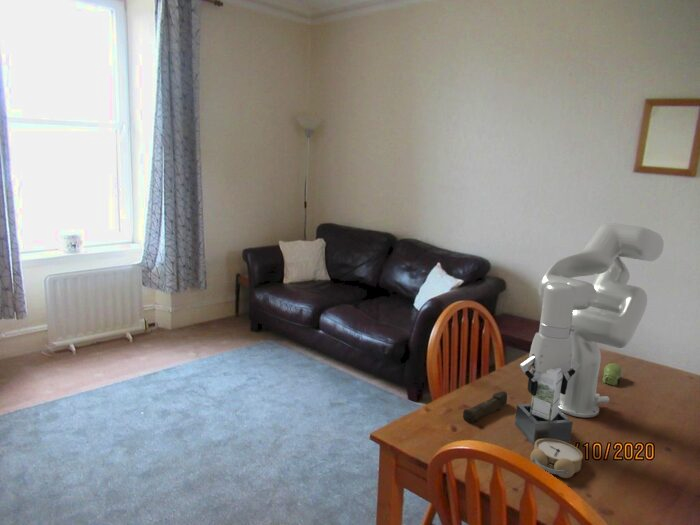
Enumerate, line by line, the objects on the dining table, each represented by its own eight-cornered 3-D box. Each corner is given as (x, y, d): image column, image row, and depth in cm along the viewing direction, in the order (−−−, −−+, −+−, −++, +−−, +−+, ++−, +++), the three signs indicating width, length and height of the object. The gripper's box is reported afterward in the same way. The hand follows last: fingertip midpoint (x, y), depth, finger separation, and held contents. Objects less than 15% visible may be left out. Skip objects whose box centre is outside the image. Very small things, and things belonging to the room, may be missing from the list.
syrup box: (558, 414, 140) (565, 364, 137) (550, 422, 136) (557, 370, 133) (537, 407, 144) (543, 358, 141) (529, 414, 139) (535, 364, 136)
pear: (624, 363, 177) (619, 377, 170) (622, 376, 179) (617, 391, 171) (607, 358, 180) (600, 372, 173) (605, 371, 182) (598, 386, 175)
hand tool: (472, 426, 144) (474, 411, 143) (461, 420, 147) (463, 405, 146) (513, 407, 155) (515, 393, 154) (502, 402, 158) (504, 388, 157)
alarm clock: (587, 448, 130) (575, 467, 117) (584, 467, 130) (571, 487, 118) (541, 433, 136) (525, 449, 123) (538, 451, 136) (521, 469, 124)
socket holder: (549, 422, 147) (551, 402, 146) (569, 442, 137) (572, 422, 136) (514, 424, 145) (517, 404, 144) (533, 444, 135) (535, 423, 134)
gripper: (577, 325, 140) (568, 385, 143) (516, 325, 137) (509, 387, 141) (594, 334, 132) (584, 398, 136) (530, 336, 130) (522, 400, 133)
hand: (546, 392), depth 138 cm, fingers closed on syrup box, 7 cm apart
